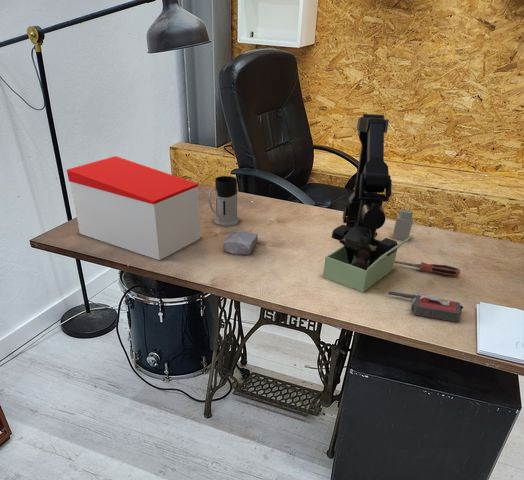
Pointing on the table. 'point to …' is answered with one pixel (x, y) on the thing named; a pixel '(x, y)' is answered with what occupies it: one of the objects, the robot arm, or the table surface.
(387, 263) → the carton
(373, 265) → the flap
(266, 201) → the table surface
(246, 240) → the stone block
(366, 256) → the bolt
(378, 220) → the robot arm
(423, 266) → the screwdriver
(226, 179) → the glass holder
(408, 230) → the power adapter
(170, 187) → the red-lidded white box
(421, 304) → the walkie-talkie
